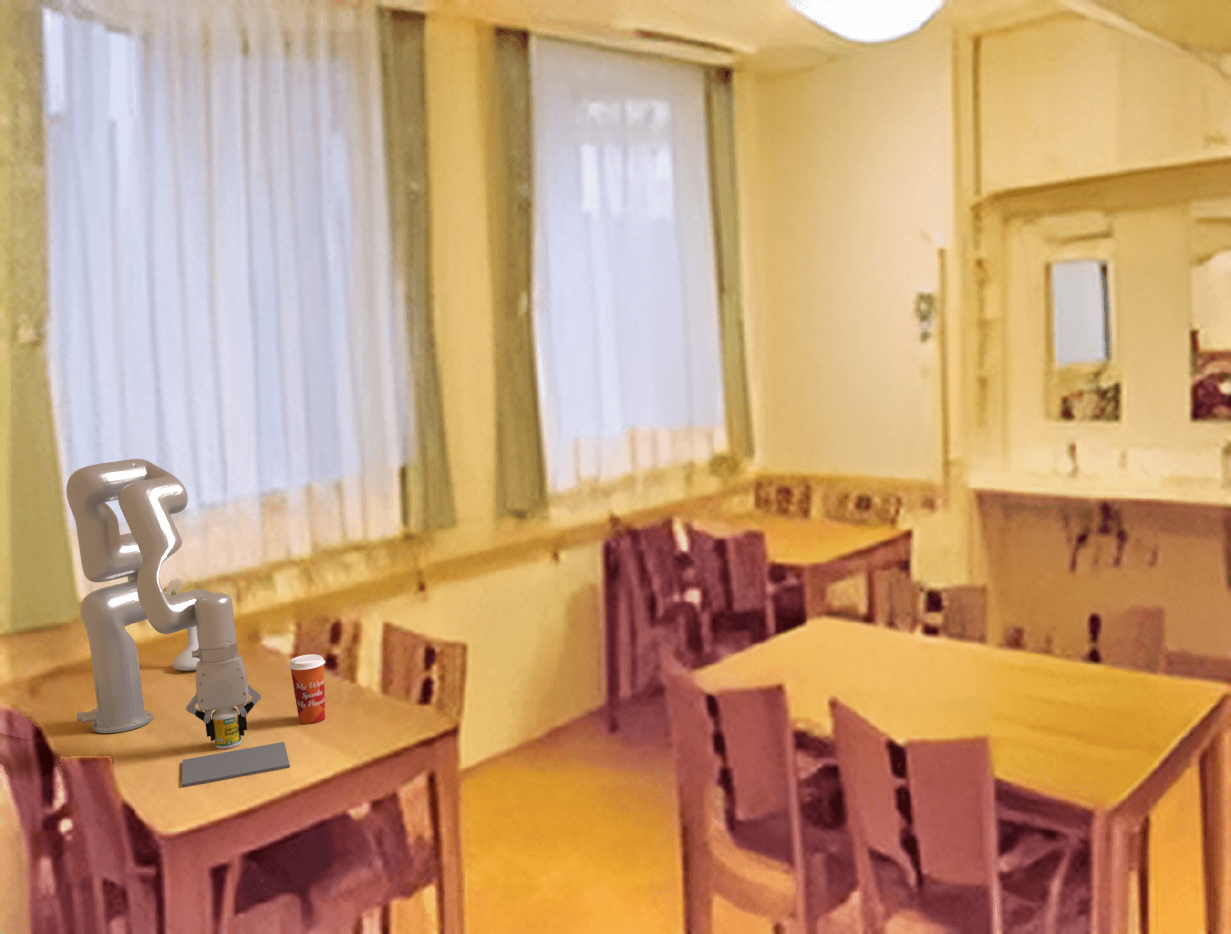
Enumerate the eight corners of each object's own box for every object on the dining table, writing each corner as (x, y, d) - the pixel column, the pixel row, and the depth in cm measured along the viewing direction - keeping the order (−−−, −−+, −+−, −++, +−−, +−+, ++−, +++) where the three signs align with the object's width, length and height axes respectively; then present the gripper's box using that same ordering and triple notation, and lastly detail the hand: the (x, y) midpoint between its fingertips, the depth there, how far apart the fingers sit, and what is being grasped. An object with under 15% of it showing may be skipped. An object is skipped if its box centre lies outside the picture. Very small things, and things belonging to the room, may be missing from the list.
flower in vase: (202, 659, 304) (192, 569, 301) (227, 664, 297) (217, 572, 294) (158, 672, 294) (147, 579, 291) (183, 678, 287) (173, 583, 284)
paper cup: (298, 728, 244) (292, 666, 242) (291, 718, 251) (285, 658, 249) (334, 720, 248) (328, 659, 246) (326, 711, 254) (320, 651, 253)
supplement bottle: (230, 738, 240) (226, 695, 239) (247, 742, 237) (242, 698, 236) (209, 747, 236) (204, 703, 234) (226, 751, 233) (221, 706, 232)
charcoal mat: (182, 787, 215) (181, 784, 215) (182, 762, 228) (182, 759, 228) (289, 767, 222) (289, 764, 221) (284, 744, 235) (284, 741, 235)
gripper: (174, 664, 228) (184, 750, 230) (262, 651, 233) (271, 734, 236) (175, 655, 235) (184, 738, 237) (260, 642, 240) (268, 723, 243)
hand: (227, 735), depth 236 cm, fingers closed on supplement bottle, 5 cm apart
